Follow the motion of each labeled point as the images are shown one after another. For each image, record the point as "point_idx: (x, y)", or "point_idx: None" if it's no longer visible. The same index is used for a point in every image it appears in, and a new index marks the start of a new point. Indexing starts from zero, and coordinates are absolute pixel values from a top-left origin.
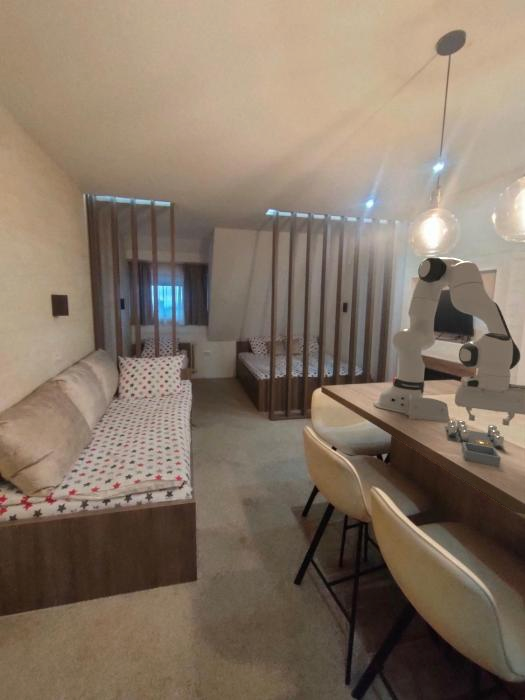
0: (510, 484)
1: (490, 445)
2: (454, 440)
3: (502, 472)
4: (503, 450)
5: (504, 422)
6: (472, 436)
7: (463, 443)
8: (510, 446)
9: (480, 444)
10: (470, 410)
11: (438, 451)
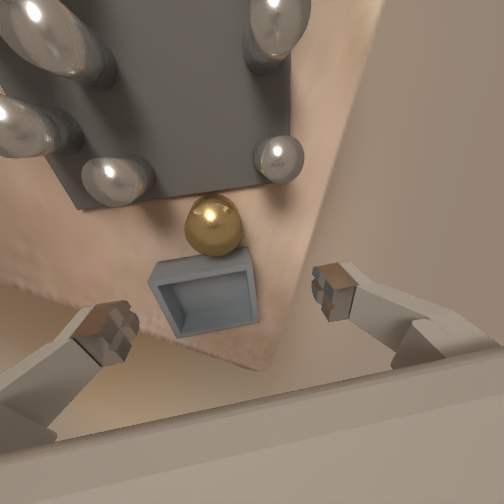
0: (265, 348)
1: (239, 240)
2: None
3: None
4: None
5: (324, 308)
6: (146, 27)
7: (155, 294)
8: (328, 67)
9: (206, 254)
10: (45, 439)
11: None
